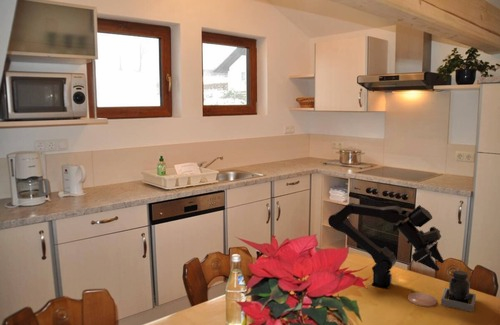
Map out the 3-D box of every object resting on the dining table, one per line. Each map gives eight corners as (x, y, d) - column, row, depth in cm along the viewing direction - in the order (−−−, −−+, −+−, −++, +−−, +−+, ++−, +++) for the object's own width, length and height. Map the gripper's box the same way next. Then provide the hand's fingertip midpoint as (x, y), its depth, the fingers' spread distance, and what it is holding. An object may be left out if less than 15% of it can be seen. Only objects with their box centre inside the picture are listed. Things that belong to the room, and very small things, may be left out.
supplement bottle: (471, 307, 152) (473, 276, 150) (451, 306, 154) (452, 275, 152) (465, 299, 159) (467, 269, 157) (446, 297, 160) (447, 268, 159)
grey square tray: (440, 304, 155) (441, 298, 154) (445, 293, 163) (445, 287, 163) (473, 312, 149) (473, 305, 149) (475, 300, 158) (475, 294, 157)
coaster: (405, 302, 157) (405, 300, 157) (411, 292, 165) (411, 290, 165) (434, 309, 152) (434, 307, 151) (438, 298, 160) (438, 296, 160)
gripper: (422, 228, 151) (454, 263, 147) (432, 216, 166) (461, 247, 162) (399, 244, 157) (429, 279, 152) (411, 232, 172) (439, 262, 167)
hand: (440, 266), depth 158 cm, fingers open, 9 cm apart
